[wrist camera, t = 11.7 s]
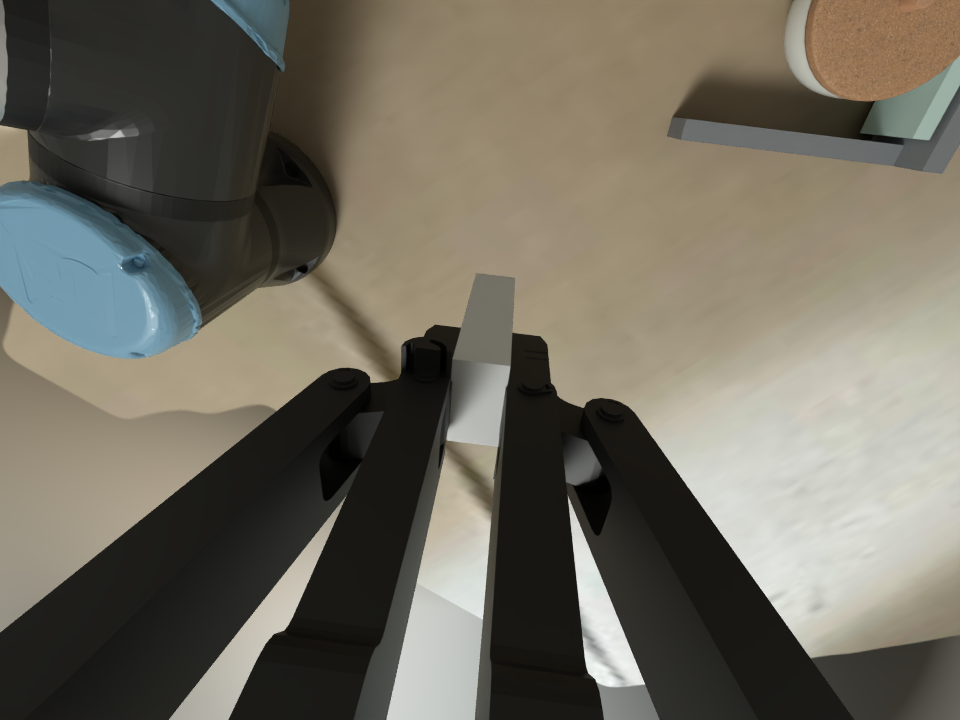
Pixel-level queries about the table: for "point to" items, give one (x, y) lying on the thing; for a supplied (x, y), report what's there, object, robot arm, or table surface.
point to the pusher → (915, 108)
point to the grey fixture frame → (836, 142)
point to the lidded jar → (870, 45)
